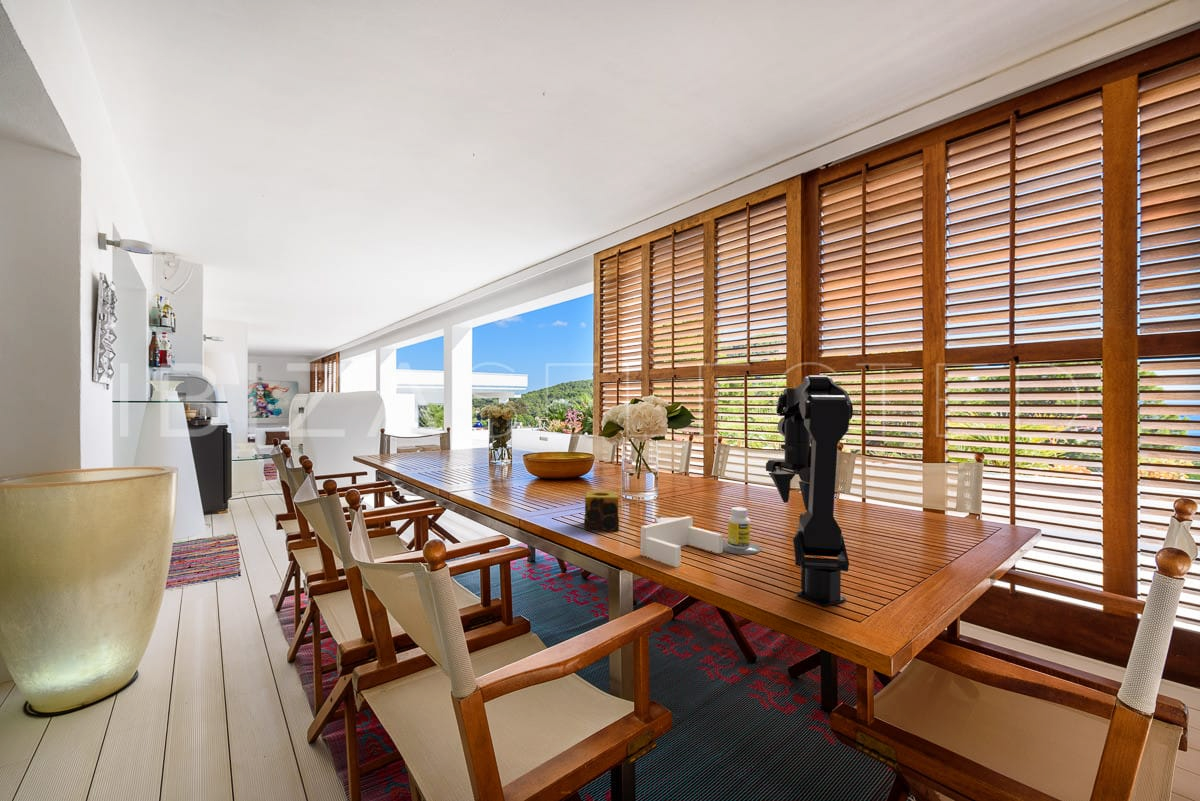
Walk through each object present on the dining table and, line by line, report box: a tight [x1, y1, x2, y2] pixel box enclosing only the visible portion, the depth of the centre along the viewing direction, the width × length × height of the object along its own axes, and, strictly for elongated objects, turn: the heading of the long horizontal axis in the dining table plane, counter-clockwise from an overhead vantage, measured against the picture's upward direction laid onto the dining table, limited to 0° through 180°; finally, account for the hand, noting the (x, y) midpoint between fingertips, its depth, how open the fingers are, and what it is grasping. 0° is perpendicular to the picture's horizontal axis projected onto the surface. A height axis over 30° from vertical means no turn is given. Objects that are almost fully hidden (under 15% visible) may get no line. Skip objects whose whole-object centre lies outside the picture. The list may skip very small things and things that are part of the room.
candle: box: [583, 490, 620, 532], centre depth 150 cm, size 10×10×10 cm
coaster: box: [723, 539, 762, 555], centre depth 130 cm, size 11×11×1 cm
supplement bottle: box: [727, 506, 751, 549], centre depth 130 cm, size 5×5×10 cm
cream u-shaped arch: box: [640, 515, 724, 568], centre depth 125 cm, size 11×18×7 cm, turn 130°
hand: (796, 506), depth 120 cm, fingers open, 9 cm apart
